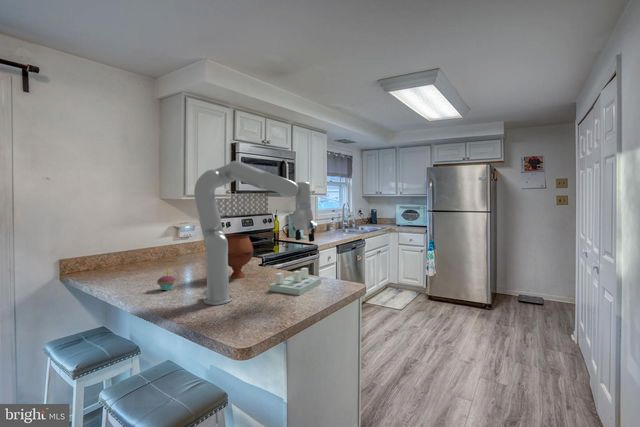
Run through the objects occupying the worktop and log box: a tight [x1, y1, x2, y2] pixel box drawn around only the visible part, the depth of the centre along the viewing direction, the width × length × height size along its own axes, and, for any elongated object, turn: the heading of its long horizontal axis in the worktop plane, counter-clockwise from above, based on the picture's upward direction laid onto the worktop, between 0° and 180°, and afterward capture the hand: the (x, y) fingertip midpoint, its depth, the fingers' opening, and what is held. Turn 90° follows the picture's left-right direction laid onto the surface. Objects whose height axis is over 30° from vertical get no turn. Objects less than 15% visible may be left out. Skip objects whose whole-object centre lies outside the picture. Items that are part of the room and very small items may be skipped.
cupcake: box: [156, 266, 176, 291], centre depth 170 cm, size 9×8×12 cm
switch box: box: [268, 274, 322, 296], centre depth 172 cm, size 18×22×3 cm
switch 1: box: [275, 272, 285, 284], centre depth 167 cm, size 3×3×5 cm
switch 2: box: [292, 270, 301, 282], centre depth 171 cm, size 3×3×5 cm
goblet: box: [225, 233, 254, 280], centre depth 194 cm, size 19×19×25 cm
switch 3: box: [300, 267, 309, 279], centre depth 178 cm, size 3×3×5 cm
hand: (304, 240), depth 165 cm, fingers open, 9 cm apart
